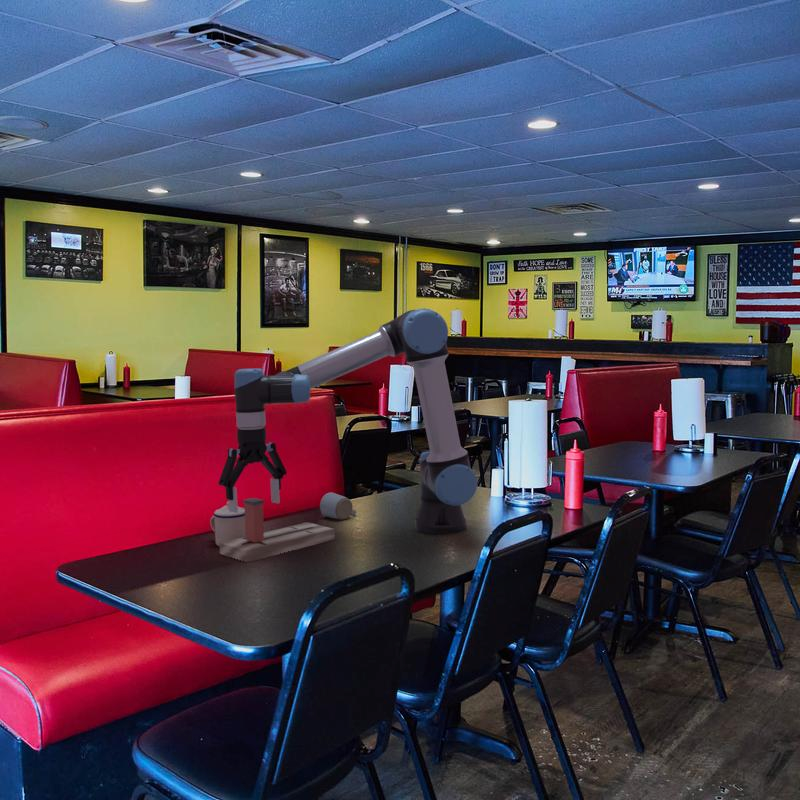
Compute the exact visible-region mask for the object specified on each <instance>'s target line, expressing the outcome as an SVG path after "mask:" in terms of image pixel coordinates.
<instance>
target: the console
mask: <svg viewBox="0 0 800 800" xmlns="http://www.w3.org/2000/svg"><path fill="white" fill-rule="evenodd" d="M335 530H336V529H335V528H332V527H328V526H323V525H320V524H316V523H312V522H308V521H307V522H303V523H299V524H294V525H289V526H286V527H285V526H284V527H281V528H277V529H273V530H269V531H268V530H267V531H264V540H263V541H258V542H251V541H248V540H246V537H242V538H238V539H234V540H229V541H225V542H221V543H219V544H220V546H219V555H222V556H226V557H228V558H231V557H232V558H231V559H234V558H235V560H237V559H238V561H240V560H241V562H243V561H244V563H246V562H247V563H250V562H253V561H257V560H262V559H266V558H268V557H269V556H270V557H273V556H277V555H281V554H284V552H285V553H288V551H289V552H292V550H293V551H296V550H301V549H304V548H308V547H311V546H315V545H319V544H322V543H327V542H330V541H335V540H336V531H335ZM280 553H281V554H280ZM249 561H250V562H249Z"/></svg>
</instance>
